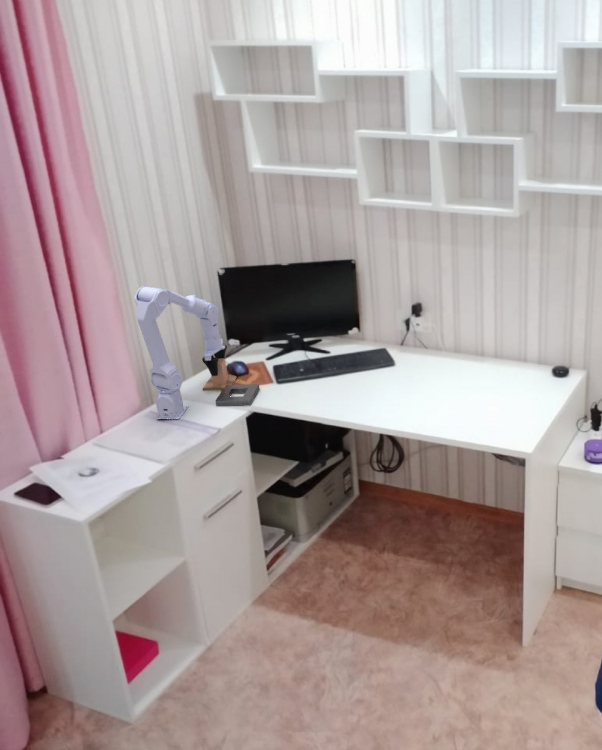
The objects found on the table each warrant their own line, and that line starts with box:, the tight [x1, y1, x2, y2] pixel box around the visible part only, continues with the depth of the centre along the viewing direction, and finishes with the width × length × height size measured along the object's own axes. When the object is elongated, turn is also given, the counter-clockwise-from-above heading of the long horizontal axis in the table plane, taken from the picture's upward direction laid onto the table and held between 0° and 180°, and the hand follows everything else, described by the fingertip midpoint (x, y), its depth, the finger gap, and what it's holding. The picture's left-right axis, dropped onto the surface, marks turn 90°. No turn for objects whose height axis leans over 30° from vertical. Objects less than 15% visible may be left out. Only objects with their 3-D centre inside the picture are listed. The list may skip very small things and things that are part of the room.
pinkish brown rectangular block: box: [210, 357, 229, 385], centre depth 309 cm, size 4×4×8 cm
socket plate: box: [215, 383, 261, 407], centre depth 298 cm, size 12×12×2 cm
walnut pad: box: [202, 375, 238, 391], centre depth 311 cm, size 10×10×1 cm
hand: (218, 370), depth 309 cm, fingers open, 7 cm apart
